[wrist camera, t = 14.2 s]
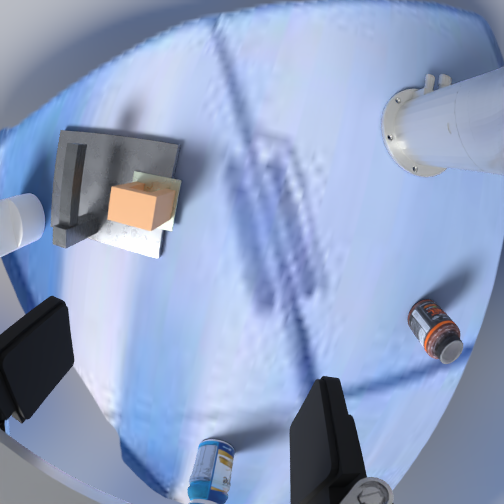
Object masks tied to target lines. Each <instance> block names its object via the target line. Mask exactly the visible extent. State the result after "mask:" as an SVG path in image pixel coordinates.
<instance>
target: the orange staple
mask: <svg viewBox="0 0 504 504" xmlns="http://www.w3.org/2000/svg"><path fill="white" fill-rule="evenodd" d="M144 185H145V183H140V182H131V183H126V184H121V185H117V186H112V187H111V194H110V202H109V210H108V218H107V220H111V221H115V222H118V223H122V224H126V225H129V226H133V227H137V228H140V229H144V230H148V231H153V230H154V229H156V228H157V227H159V226H161V225H162V224H164V223H166V222H167V221H169V220H170V218H171V213H172V207H173V202H174V197H175V192H176V191H175V190H171V189H167V188H165V189H162V190H158V191H155V192H152V193H151V192H146V191H144Z"/></svg>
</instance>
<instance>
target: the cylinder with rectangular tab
mask: <svg viewBox="0 0 504 504" xmlns="http://www.w3.org/2000/svg"><path fill="white" fill-rule="evenodd" d="M44 228H45V214H44V210H43V207H42V204H41V202H40V201H39V199H38V198H37V197H36V196H35V195H34V194H31V193H26V194H21V195H17V196H13V197H10V198H6V199H2V200H0V257H2V256H4V255H6V254H8V253H10V252H12V251H14V250H17V249H19V248H21V247H23V246H25V245H27V244H30V243H32V242H34V241H36V240H38V239H39V238H40V237H41V236H42V234H43V232H44Z"/></svg>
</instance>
